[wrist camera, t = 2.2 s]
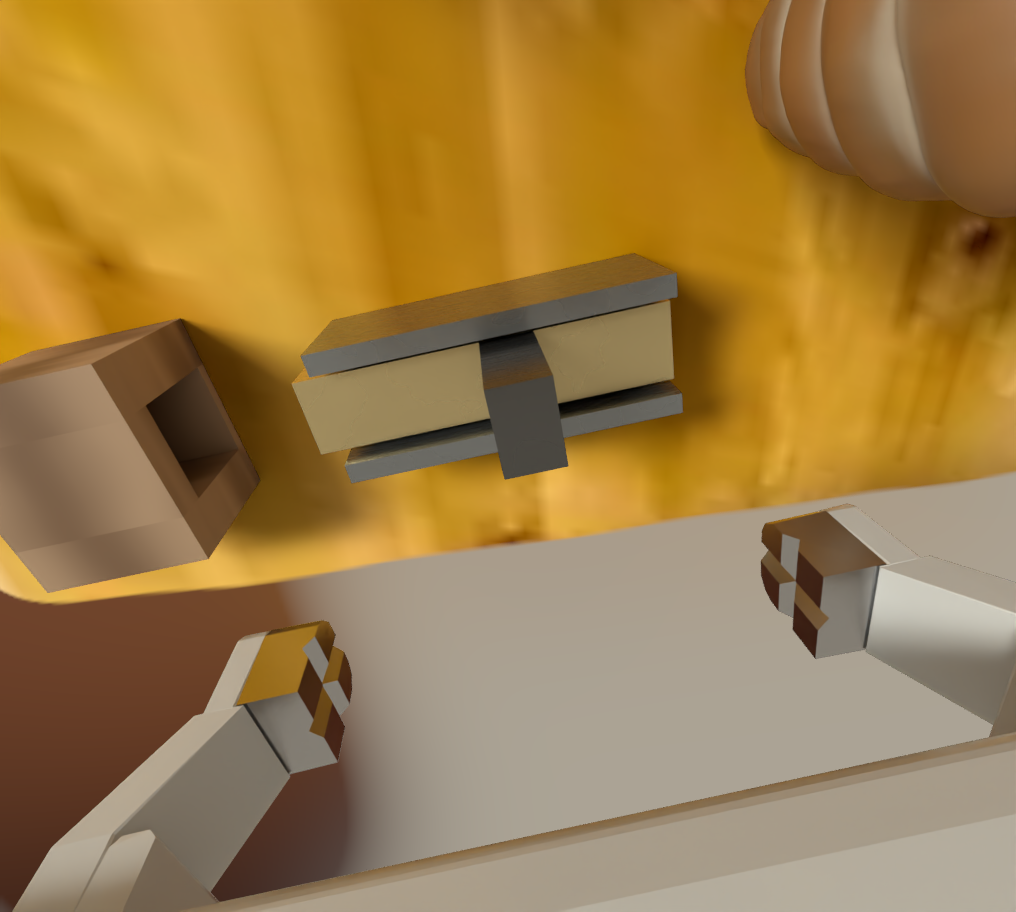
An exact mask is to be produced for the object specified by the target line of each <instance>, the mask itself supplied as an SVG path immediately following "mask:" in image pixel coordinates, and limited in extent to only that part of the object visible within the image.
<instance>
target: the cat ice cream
mask: <svg viewBox="0 0 1016 912" xmlns="http://www.w3.org/2000/svg"><path fill="white" fill-rule="evenodd" d="M745 78H746V88H747V94H748V98H749V101H750V104H751V107H752V111H753V114H754V117H755V119H756V121H757V122H758V123H759V124H760V125H761V126H763V127H764V128H766V129H769V130H770V132H771V134H772V135H773V136H774V137H775V138H777V139H778V140H779V141H780V142H781V143H782V144H783V145H784V146H786V147H787V148H789V149H790V150H792V151H794V152H796V153H798V154H801V155H803V156H806V157H810V158H811V159H812V160H813V161H814V162H815V163H816V164H818V165H819V166H821V167H822V168H824V169H826V170H828V171H831V172H834V173H837V174H842V175H851V176H859V177H860V178H861V179H862V180H863V181H864V182H865V183H866V184H867V185H868V186H869V187H871V188H872V189H874V190H876V191H878V192H880V193H882V194H884V195H886V196H889V197H892V198H895V199H898V200H904V201H942V200H953V201H954V202H955V203H956V204H958V205H959V206H961V207H962V208H964V209H966V210H968V211H970V212H973V213H975V214H978V215H982V216H987V217H996V218H1006V217H1015V216H1016V0H770V1H769V3H768V5H767V7H766V9H765V11H764V13H763V15H762V16H761V18H760V20H759V21H758V23H757V25H756V28H755V30H754V33H753V36H752V39H751V42H750V46H749V50H748V55H747V62H746V68H745Z"/></svg>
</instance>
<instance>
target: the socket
mask: <svg viewBox="0 0 1016 912" xmlns="http://www.w3.org/2000/svg"><path fill="white" fill-rule="evenodd" d="M259 482H260V478H259V476H258V474H257V472H256V470H255V468H254V466H253V464H252V462H251V460H250V458H249V456H248V454H247V452H246V450H245V448H244V446H243V444H242V442H241V440H240V438H239V436H238V434H237V432H236V430H235V428H234V426H233V424H232V422H231V420H230V418H229V416H228V414H227V412H226V410H225V408H224V406H223V404H222V402H221V400H220V398H219V396H218V394H217V392H216V390H215V388H214V386H213V384H212V382H211V380H210V378H209V376H208V374H207V372H206V370H205V368H204V366H203V364H202V362H201V360H200V358H199V356H198V354H197V352H196V350H195V347H194V345H193V343H192V341H191V339H190V337H189V335H188V333H187V331H186V329H185V327H184V325H183V323H182V321H181V319H175V320H171V321H167V322H162V323H158V324H153V325H149V326H144V327H140V328H135V329H131V330H126V331H122V332H117V333H113V334H109V335H104V336H100V337H95V338H91V339H86V340H82V341H77V342H73V343H68V344H64V345H59V346H55V347H51V348H46V349H42V350H37V351H33V352H29V353H27V354H24V355H22V356H20V357H17V358H15V359H12V360H10V361H7V362H5V363H3V364H0V535H1V537H2V538H3V539H4V540H5V541H6V543H7V544H8V545H9V546H10V548H11V549H12V550H13V551H14V552H15V554H16V555H17V556H18V557H19V559H20V560H21V561H22V562H23V563H24V565H25V566H26V567H27V568H28V569H29V571H30V572H31V573H32V574H33V576H34V577H35V578H36V579H37V580H38V582H39V583H40V584H41V585H42V587H43V588H44V589H45V590H46V591H47V593H50V592H55V591H59V590H64V589H69V588H73V587H78V586H83V585H88V584H92V583H97V582H102V581H107V580H111V579H116V578H121V577H126V576H130V575H135V574H140V573H144V572H149V571H154V570H159V569H163V568H168V567H173V566H178V565H182V564H187V563H192V562H197V561H201V560H206V559H209V557H210V556H211V554H212V553H213V551H214V550H215V548H216V547H217V545H218V544H219V542H220V541H221V539H222V538H223V536H224V535H225V533H226V532H227V530H228V529H229V527H230V526H231V524H232V522H233V521H234V519H235V518H236V516H237V515H238V513H239V512H240V510H241V509H242V507H243V506H244V504H245V503H246V501H247V500H248V498H249V497H250V495H251V494H252V492H253V491H254V489H255V488H256V486H257V485H258V483H259Z"/></svg>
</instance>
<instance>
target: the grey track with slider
mask: <svg viewBox="0 0 1016 912" xmlns="http://www.w3.org/2000/svg"><path fill="white" fill-rule="evenodd" d="M675 297H678V293H677V273H676V272H673V271H671V270H669V269H667V268H665V267H663V266H661V265H658V264H656V263H654V262H652V261H650V260H648V259H645V258H643V257H641V256H639V255H637V254H635V253H633V254H629V255H624V256H620V257H615V258H611V259H606V260H602V261H597V262H593V263H588V264H584V265H579V266H575V267H570V268H566V269H561V270H557V271H552V272H548V273H543V274H539V275H534V276H530V277H525V278H521V279H516V280H512V281H507V282H503V283H498V284H494V285H489V286H485V287H480V288H476V289H471V290H467V291H462V292H458V293H453V294H449V295H444V296H440V297H435V298H431V299H426V300H422V301H417V302H413V303H408V304H404V305H399V306H395V307H390V308H386V309H381V310H377V311H372V312H368V313H363V314H359V315H354V316H350V317H345V318H341V319H336V320H332V321H331V322H330V323H329V325H328V326H327V327H326V328H325V329H324V330H323V331H322V332H321V334H320V335H319V336H318V337H317V338H316V339H315V340H314V341H313V343H312V344H311V345H310V346H309V347H308V348H307V349H306V350H305V352H304V353H303V354H302V355H301V358H302V361H303V363H304V366H305V368H306V371H307V373H308V376H309V378H310V377H315V376H319V375H324V374H329V373H333V372H338V371H342V370H347V369H351V368H356V367H360V366H365V365H370V364H374V363H379V362H383V361H388V360H392V359H397V358H401V357H406V356H411V355H415V354H420V353H424V352H429V351H433V350H438V349H442V348H447V347H452V346H456V345H461V344H465V343H470V342H474V341H479V340H483V339H488V338H493V337H497V336H502V335H506V334H511V333H515V332H520V331H524V330H529V329H534V328H538V327H543V326H547V325H552V324H556V323H561V322H565V321H570V320H575V319H579V318H584V317H588V316H593V315H597V314H602V313H606V312H611V311H616V310H620V309H625V308H629V307H634V306H638V305H643V304H647V303H652V302H657V301H661V300H666V299H670V298H675ZM558 407H559V413H560V419H561V425H562V431H563V437H564V438H566V437H571V436H575V435H580V434H585V433H589V432H594V431H599V430H603V429H608V428H613V427H618V426H622V425H627V424H632V423H636V422H641V421H646V420H650V419H655V418H660V417H664V416H669V415H674V414H678V413H683V403H682V393H681V392H680V391H679V390H678V389H677V388H676V387H675V386H674V385H673V384H672V383H671V382H670V381H669V380H665V381H661V382H656V383H651V384H647V385H642V386H637V387H633V388H628V389H623V390H619V391H614V392H610V393H605V394H600V395H596V396H591V397H586V398H582V399H577V400H572V401H568V402H563V403H558ZM496 452H498V449H497V445H496V441H495V437H494V432H493V428H492V424H491V420H490V418H489V419H484V420H480V421H475V422H470V423H466V424H461V425H456V426H452V427H447V428H442V429H438V430H433V431H429V432H424V433H419V434H415V435H410V436H405V437H401V438H396V439H391V440H387V441H382V442H377V443H373V444H368V445H364V446H359V447H354V448H352V449H351V451H350V454H349V456H348V459H347V461H346V464H345V468H346V470H347V473H348V475H349V478H350V480H351V483H355V482H360V481H365V480H369V479H374V478H379V477H383V476H388V475H393V474H397V473H402V472H407V471H411V470H416V469H421V468H426V467H430V466H435V465H440V464H444V463H449V462H454V461H458V460H463V459H468V458H472V457H477V456H482V455H486V454H491V453H496Z"/></svg>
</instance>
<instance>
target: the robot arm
mask: <svg viewBox="0 0 1016 912" xmlns="http://www.w3.org/2000/svg"><path fill="white" fill-rule="evenodd" d="M762 543H763V544H764V545H765V546H766V547H767V549H768V550H769V551H768V552H767V553H766V555H765V556H764V557H763V559H762V560H761V577H762V580H763V584H764V587H765V590H766V592H767V594H768V596H769V598H770V600H771V601H772V603H773V604H774V606H775V607H776V608H777V610H778V611H780V612H782V613H784V614H786V615H788V616H790V617H792V618H793V631H794V632H795V633H796V634H797V636H798V637H799V638H800V640H801V641H802V642H803V644H804V645H805V646H806V647H807V649H808V650H809V651H810V652H811V654H812V655H813V656H814V658H815V659H817V658H822V657H828V656H833V655H839V654H843V653H849V652H855V651H860V650H865V649H866V652H867V653H868V654H870V655H872V656H874V657H875V658H877V659H879V660H881V661H883V662H884V663H886V664H888V665H889V666H891V667H893V668H895V669H896V670H898V671H900V672H902V673H903V674H905V675H907V676H909V677H910V678H912V679H914V680H916V681H917V682H919V683H921V684H923V685H924V686H926V687H928V688H929V689H931V690H933V691H935V692H937V693H938V694H940V695H942V696H943V697H945V698H947V699H949V700H950V701H952V702H954V703H956V704H957V705H959V706H961V707H963V708H964V709H966V710H968V711H970V712H972V713H973V714H975V715H977V716H978V717H980V718H982V719H984V720H985V721H987V722H989V723H991V724H993V727H992V730H991V733H990V736H989V738H984V739H979V740H975V741H970V742H965V743H961V744H956V745H951V746H947V747H942V748H937V749H933V750H928V751H923V752H919V753H914V754H909V755H905V756H900V757H895V758H890V759H886V760H881V761H877V762H872V763H867V764H863V765H858V766H853V767H849V768H844V769H839V770H835V771H830V772H825V773H821V774H816V775H811V776H807V777H802V778H797V779H793V780H789V781H784V782H779V783H774V784H770V785H765V786H760V787H756V788H751V789H746V790H742V791H737V792H733V793H728V794H723V795H719V796H714V797H709V798H705V799H700V800H695V801H691V802H686V803H681V804H677V805H673V806H667V807H663V808H658V809H654V810H649V811H644V812H640V813H636V814H631V815H626V816H621V817H617V818H612V819H607V820H602V821H598V822H593V823H588V824H583V825H579V826H574V827H570V828H565V829H560V830H555V831H551V832H546V833H541V834H537V835H533V836H527V837H523V838H518V839H513V840H509V841H504V842H499V843H495V844H490V845H485V846H481V847H476V848H471V849H467V850H462V851H457V852H452V853H448V854H443V855H438V856H434V857H429V858H424V859H420V860H415V861H410V862H406V863H401V864H396V865H392V866H387V867H383V868H378V869H373V870H368V871H364V872H359V873H354V874H350V875H345V876H340V877H336V878H331V879H326V880H322V881H317V882H312V883H308V884H303V885H298V886H294V887H289V888H284V889H279V890H275V891H270V892H265V893H261V894H257V895H251V896H247V897H242V898H237V899H233V900H228V901H224V902H219V901H218V900H217V899H216V898H215V897H214V896H213V895H212V894H211V893H210V891H211V890H212V889H213V887H214V886H215V884H216V883H217V881H218V880H219V879H220V877H221V876H222V874H223V873H224V871H225V870H226V868H227V867H228V866H229V864H230V863H231V861H232V860H233V858H234V857H235V855H236V854H237V853H238V851H239V850H240V848H241V847H242V845H243V844H244V843H245V841H246V840H247V838H248V837H249V835H250V834H251V832H252V831H253V830H254V828H255V827H256V825H257V824H258V822H259V821H260V820H261V818H262V817H263V815H264V814H265V812H266V811H267V809H268V808H269V807H270V805H271V804H272V802H273V801H274V799H275V798H276V797H277V795H278V794H279V792H280V791H281V789H282V788H283V786H284V785H285V784H286V782H287V781H288V779H289V778H290V775H289V774H292V773H296V772H300V771H304V770H308V769H312V768H316V767H320V766H324V765H328V764H332V763H336V762H338V759H339V754H340V749H341V745H342V739H343V735H344V730H345V726H344V723H343V721H342V720H341V718H340V715H341V714H342V713H343V712H344V710H345V709H346V708H347V707H348V705H349V704H350V699H351V694H352V673H351V669H350V665H349V662H348V659H347V657H346V655H345V653H344V652H343V651H342V650H340V649H338V648H336V647H334V646H333V644H334V640H335V636H336V634H335V633H334V631H333V629H332V627H331V625H330V623H329V622H327V621H324V620H322V621H317V622H311V623H307V624H301V625H296V626H291V627H286V628H281V629H275V630H271V631H269V632H263V633H258V634H252V635H248V636H244V637H243V638H242V639H240V640H239V641H238V643H237V645H236V646H235V648H234V651H233V653H232V655H231V657H230V659H229V661H228V663H227V665H226V668H225V670H224V672H223V674H222V676H221V678H220V680H219V682H218V684H217V686H216V688H215V690H214V692H213V695H212V697H211V699H210V701H209V703H208V705H207V707H206V709H205V711H204V714H201V715H196V716H194V717H193V718H192V719H191V720H190V721H189V722H187V723H186V724H185V725H184V726H183V727H182V728H181V729H180V730H179V731H178V732H177V733H175V734H174V735H173V736H172V737H171V738H170V739H169V740H168V741H167V742H166V743H165V744H163V745H162V746H161V747H160V748H159V749H158V750H157V751H156V752H155V753H154V754H153V755H152V756H150V757H149V758H148V759H147V760H146V761H145V762H144V763H143V764H142V765H141V766H140V767H139V768H138V769H136V770H135V771H134V772H133V773H132V774H131V775H130V776H129V777H128V778H127V779H126V780H124V781H123V782H122V783H121V784H120V785H119V786H118V787H117V788H116V789H115V790H114V791H112V793H110V794H109V795H108V796H107V797H106V798H105V799H104V800H103V801H102V802H101V803H99V804H98V805H97V806H96V807H95V808H94V809H93V810H92V811H91V812H90V813H89V814H88V815H86V816H85V817H84V818H83V819H82V820H81V821H80V822H79V823H78V824H77V825H76V826H75V827H73V828H72V829H71V830H70V831H69V832H68V833H67V834H66V835H65V836H64V837H63V838H61V839H60V840H59V841H58V842H57V843H56V844H55V845H54V846H53V847H52V848H51V849H50V851H49V852H48V854H47V856H46V858H45V859H44V861H43V862H42V864H41V865H40V867H39V869H38V870H37V872H36V874H35V875H34V877H33V879H32V880H31V882H30V884H29V885H28V887H27V888H26V890H25V892H24V893H23V895H22V897H21V898H20V900H19V902H18V903H17V905H16V907H15V908H14V910H13V911H12V912H1016V582H1013V581H1010V580H1006V579H1003V578H1000V577H997V576H994V575H990V574H987V573H984V572H980V571H977V570H974V569H971V568H968V567H965V566H961V565H958V564H955V563H952V562H948V561H945V560H942V559H939V558H936V557H933V556H926V557H919V556H918V555H917V554H916V553H914V552H913V551H912V550H910V549H909V548H908V547H907V546H906V545H904V544H903V543H901V542H900V541H899V540H898V539H897V538H895V537H894V536H893V535H892V534H890V533H889V532H888V531H887V530H885V529H884V528H882V527H881V526H880V525H879V524H878V523H876V522H875V521H874V520H873V519H871V518H870V517H869V516H867V515H866V514H865V513H864V512H862V511H861V510H860V509H859V508H857V507H856V506H854V505H850V504H845V505H840V506H836V507H832V508H828V509H824V510H820V511H819V512H813V513H809V514H805V515H800V516H796V517H792V518H787V519H782V520H778V521H774V522H769V523H766V524H765V525H764V527H763V529H762Z"/></svg>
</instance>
